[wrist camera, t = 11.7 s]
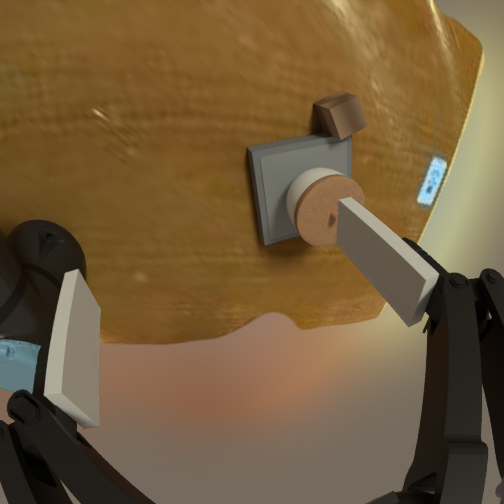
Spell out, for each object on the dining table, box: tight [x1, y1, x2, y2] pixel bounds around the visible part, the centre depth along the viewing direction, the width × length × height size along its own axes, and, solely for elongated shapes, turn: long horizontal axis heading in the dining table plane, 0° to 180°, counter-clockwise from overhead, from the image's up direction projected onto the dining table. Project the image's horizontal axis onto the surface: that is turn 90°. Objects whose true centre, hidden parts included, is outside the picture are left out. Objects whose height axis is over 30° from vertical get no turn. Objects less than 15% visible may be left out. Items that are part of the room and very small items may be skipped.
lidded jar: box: [286, 168, 365, 247], centre depth 43 cm, size 11×11×9 cm
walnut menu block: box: [313, 91, 367, 140], centre depth 41 cm, size 5×5×5 cm
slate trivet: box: [247, 132, 352, 246], centre depth 48 cm, size 16×16×3 cm
